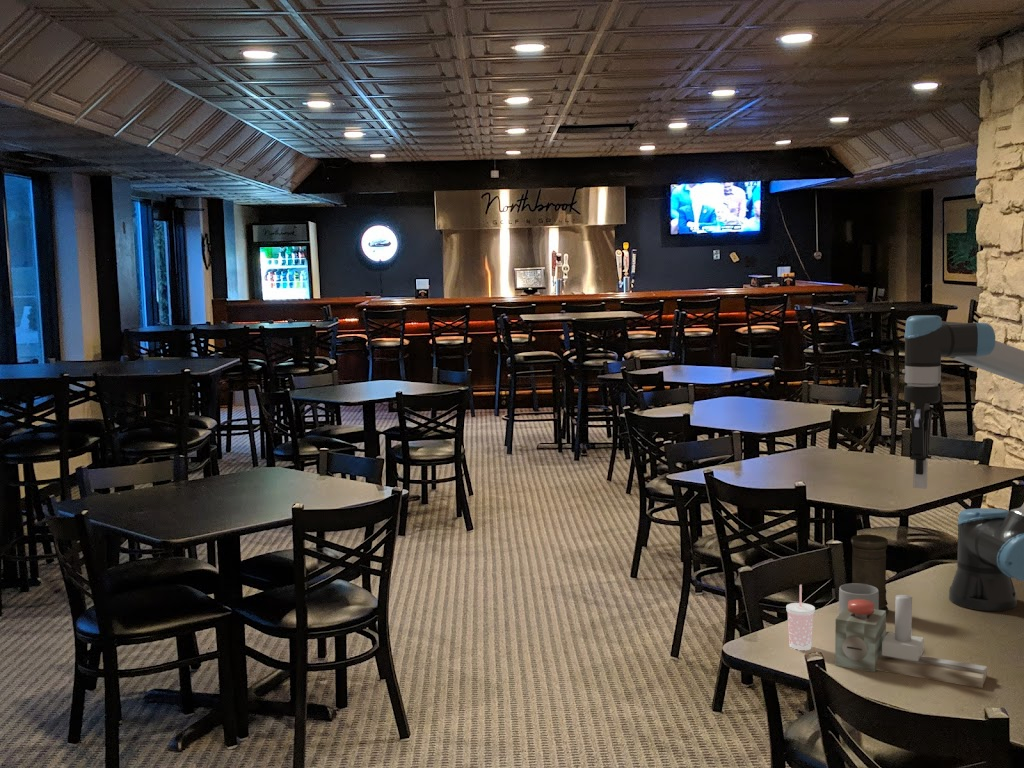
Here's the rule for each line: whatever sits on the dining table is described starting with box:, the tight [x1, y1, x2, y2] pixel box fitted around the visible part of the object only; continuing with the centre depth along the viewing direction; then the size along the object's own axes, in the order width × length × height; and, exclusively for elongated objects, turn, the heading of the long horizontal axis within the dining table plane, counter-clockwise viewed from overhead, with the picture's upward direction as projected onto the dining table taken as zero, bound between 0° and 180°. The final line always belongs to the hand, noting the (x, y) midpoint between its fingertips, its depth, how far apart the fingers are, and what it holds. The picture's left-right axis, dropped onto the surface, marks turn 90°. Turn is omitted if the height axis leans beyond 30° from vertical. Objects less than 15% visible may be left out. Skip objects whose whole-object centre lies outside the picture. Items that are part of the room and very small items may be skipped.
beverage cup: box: [785, 584, 816, 651], centre depth 226 cm, size 6×6×14 cm
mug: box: [838, 582, 879, 615], centre depth 233 cm, size 12×8×11 cm
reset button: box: [848, 599, 874, 619], centre depth 217 cm, size 5×5×6 cm
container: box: [850, 534, 889, 615], centre depth 247 cm, size 9×9×18 cm
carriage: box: [882, 594, 925, 661], centre depth 212 cm, size 7×6×12 cm
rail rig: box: [834, 605, 988, 689], centre depth 212 cm, size 28×11×10 cm, turn 58°
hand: (920, 487), depth 234 cm, fingers closed
